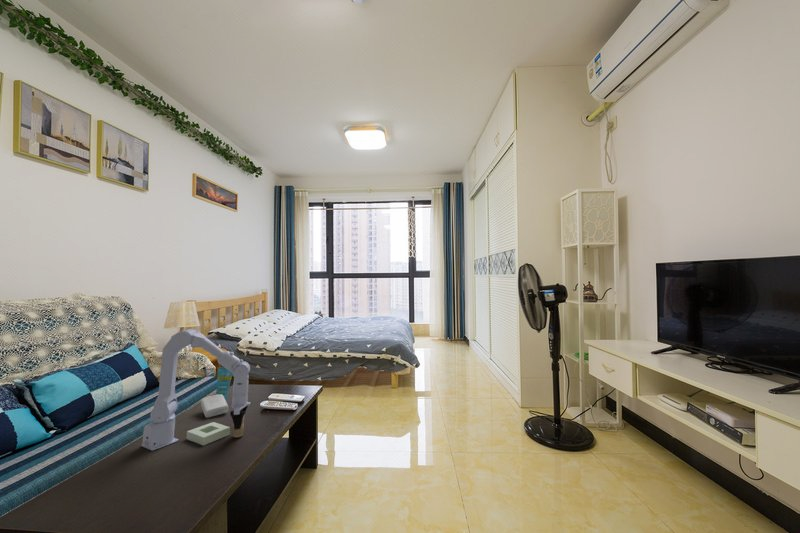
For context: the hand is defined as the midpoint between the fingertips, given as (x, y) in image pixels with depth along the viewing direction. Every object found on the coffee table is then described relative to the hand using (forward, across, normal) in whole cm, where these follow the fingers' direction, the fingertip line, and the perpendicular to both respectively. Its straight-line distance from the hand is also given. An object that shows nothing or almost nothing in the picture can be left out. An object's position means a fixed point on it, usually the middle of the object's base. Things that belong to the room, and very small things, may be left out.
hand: (238, 426), depth 135 cm
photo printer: (+2, +25, +12) cm, 28 cm away
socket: (+4, +3, +11) cm, 12 cm away
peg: (+3, 0, 0) cm, 3 cm away
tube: (+4, +40, +14) cm, 42 cm away
